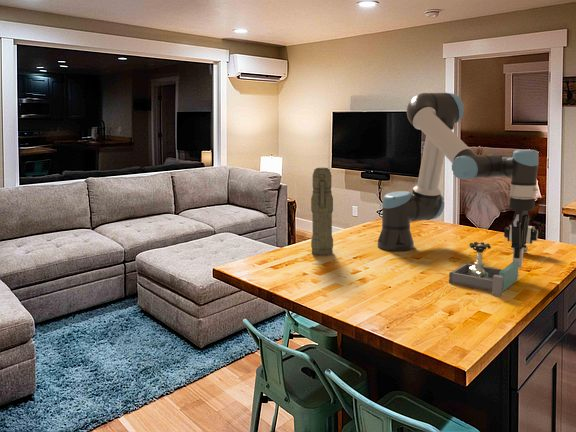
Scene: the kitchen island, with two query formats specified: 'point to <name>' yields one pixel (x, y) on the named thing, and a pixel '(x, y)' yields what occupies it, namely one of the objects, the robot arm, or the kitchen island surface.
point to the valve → (479, 260)
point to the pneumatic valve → (531, 235)
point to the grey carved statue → (322, 212)
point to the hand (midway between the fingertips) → (517, 266)
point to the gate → (509, 274)
